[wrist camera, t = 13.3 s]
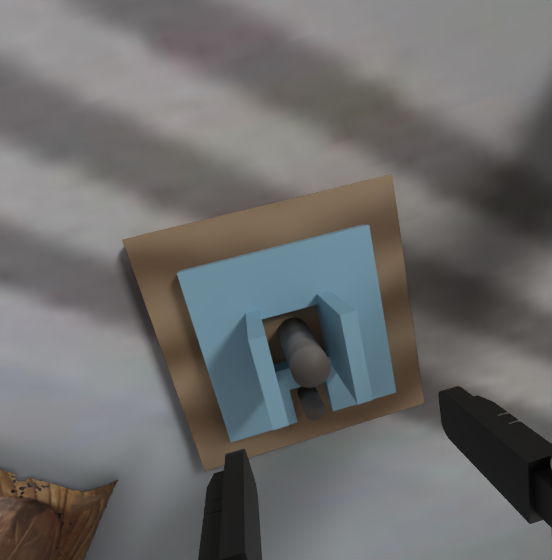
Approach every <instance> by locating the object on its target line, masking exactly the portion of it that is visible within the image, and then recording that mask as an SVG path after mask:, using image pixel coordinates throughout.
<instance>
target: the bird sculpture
mask: <svg viewBox="0 0 552 560" xmlns="http://www.w3.org/2000/svg"><path fill="white" fill-rule="evenodd" d="M11 476H15V475H14V474H13V475H12V473H10V472H8V471H7V472H5V471H4V470H1V469H0V560H84V558H85V556H86V552H87V550H88V548H89V546H90V542H91V540H92V538H93V536H94V534H95V531H96V529H97V526H98V524H99V521H100V519H101V517H102V514H103V512H104V510H105V508H106V506H107V505H106V504H107V502H108V499H109V497H110V496H111V494H112V491H113V489H114V487H115V485H116V483H117V481H118V480H116V481H114V482H113V483H111V484H109V485H106V486H103V487H99V488H96V489H93V490H89V491H85V492H80V491H78V490H75V491H72V490H70V489H69V488H66V487H60V486H57V485H55V484H51V483H47V482H45V481H38V480H36V482H34V481H35V479H32V478H29V477H28V479H26V480H27V481H26V482H25V481H21V482H19V481H17V480H16V483H13V480H14V479H16V478H12V477H11ZM27 482H29V483H30V485H31V486H32V487H27V486H28V485H27V484H26V483H27ZM33 483H36V484H37V485H38V487H39V488H41V491H38V490H37V489H36V488H35V485H33ZM41 485H44V486H46V485H50V487H49V488H47V487H46V488H43V487H41ZM14 486H16V487H14ZM20 487H26V488H24V490H20V489H19V488H20ZM12 489H13V490H14V491H16V490H17V492H15V493H12V492H10V491H11V490H12ZM23 491H24V492H25V493H24V494H23V495H21V494H20V493H21V492H23ZM35 492H37V493H35ZM20 495H21V496H23V497H21V498H20ZM34 500H35V501H34ZM59 512H60V513H61V515H60V516H61V519H60V518H59V515H58V513H59ZM62 522H64V524H63V527H61V526H62ZM70 523H71V524H70ZM69 524H70V525H69ZM61 533H62V534H61ZM57 546H58V547H59V548H57ZM55 550H56V551H55Z"/></svg>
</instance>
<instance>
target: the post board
mask: <svg viewBox="0 0 552 560" xmlns="http://www.w3.org/2000/svg"><path fill="white" fill-rule="evenodd" d="M359 225H369V226H370V233H371V239H372V245H373V251H374V258H375V264H376V270H377V276H378V282H379V289H380V295H381V301H382V307H383V313H384V320H385V326H386V332H387V338H388V344H389V351H390V357H391V363H392V369H393V375H394V382H395V388H396V393H392V394H389V395H386V396H382V397H379V398H376V399H373V400H371V401H368V402H365V403H362V404H356V405H353V406H349V407H346V408H343V409H339V410H336V411H333V410H332V408H331V406H330V404H329V402H328V398H327V393H326V389H325V384H324V382H325V381H326V380H327V378H328V377H329V375H330V371H331V363H330V361H329V359H328V357H327V356H326V354H325V353H324V350H325V345H324V340H323V336H322V331H321V326H320V322H319V317H318V313H317V308H316V305H313V306H310V307H306V308H302V309H299V310H295V311H291V312H287V313H284V314H280V315H276V316H273V317H269V318H265V319H262V322H263V326H264V330H265V334H266V338H267V341H268V345H269V349H270V353H271V357H272V360H273V364H278V363H281V362H285V361H287V363H288V365H289V368H290V371H291V374H292V377H293V379H294V380H295V382H296V383H297V384H299V385H300V386H301V387H298V388H294V389H291V390H290V394H291V398H292V402H293V406H294V410H295V414H296V417H297V421H298V422H297V423H293V424H290V425H289V426H286V427H282V428H279V429H276V430H270V431H267V432H264V433H260V434H257V435H254V436H250V437H247V438H244V439H241V440H237V441H234V442H231V441H230V438H229V435H228V432H227V429H226V425H225V422H224V419H223V416H222V413H221V410H220V407H219V404H218V401H217V397H216V394H215V391H214V388H213V385H212V382H211V379H210V376H209V373H208V369H207V366H206V363H205V360H204V357H203V354H202V351H201V348H200V344H199V341H198V338H197V335H196V332H195V329H194V326H193V323H192V320H191V316H190V313H189V310H188V307H187V304H186V301H185V298H184V295H183V292H182V288H181V285H180V282H179V279H178V276H177V273H178V272H179V271H181V270H185V269H189V268H193V267H197V266H200V265H204V264H208V263H212V262H216V261H220V260H224V259H228V258H232V257H236V256H240V255H244V254H248V253H252V252H256V251H260V250H264V249H268V248H272V247H276V246H280V245H284V244H288V243H292V242H296V241H299V240H303V239H307V238H311V237H315V236H319V235H323V234H327V233H331V232H335V231H339V230H343V229H347V228H351V227H355V226H359ZM123 243H124V246H125V249H126V252H127V254H128V257H129V260H130V263H131V266H132V268H133V271H134V274H135V277H136V280H137V282H138V285H139V288H140V291H141V294H142V296H143V299H144V302H145V305H146V308H147V310H148V313H149V316H150V319H151V322H152V324H153V327H154V330H155V333H156V336H157V338H158V341H159V344H160V347H161V350H162V352H163V355H164V358H165V361H166V363H167V366H168V369H169V372H170V375H171V377H172V380H173V383H174V386H175V389H176V391H177V394H178V397H179V400H180V403H181V405H182V408H183V411H184V414H185V417H186V419H187V422H188V425H189V428H190V431H191V433H192V436H193V439H194V442H195V445H196V447H197V450H198V453H199V456H200V459H201V461H202V464H203V467H204V470H205V471H208V470H211V469H214V468H218V467H221V466H224V464H225V455H226V454H227V453H230V452H234V451H237V450H240V449H245V450H246V453H247V456H248V458H250V457H253V456H256V455H259V454H263V453H266V452H269V451H272V450H276V449H279V448H282V447H285V446H288V445H292V444H295V443H298V442H301V441H304V440H308V439H311V438H314V437H317V436H321V435H324V434H327V433H330V432H333V431H337V430H340V429H343V428H346V427H349V426H353V425H356V424H359V423H362V422H366V421H369V420H372V419H375V418H378V417H382V416H385V415H388V414H391V413H395V412H398V411H401V410H404V409H407V408H411V407H414V406H417V405H420V404H423V403H424V399H423V392H422V384H421V377H420V370H419V363H418V356H417V349H416V342H415V335H414V327H413V320H412V313H411V306H410V299H409V292H408V285H407V278H406V270H405V263H404V256H403V249H402V242H401V235H400V228H399V221H398V213H397V206H396V199H395V192H394V185H393V178H392V174H391V175H387V176H383V177H378V178H374V179H370V180H366V181H362V182H358V183H354V184H350V185H346V186H341V187H337V188H333V189H329V190H325V191H321V192H317V193H313V194H309V195H304V196H300V197H296V198H292V199H288V200H284V201H280V202H276V203H271V204H267V205H263V206H259V207H255V208H251V209H247V210H243V211H239V212H234V213H230V214H226V215H222V216H218V217H214V218H210V219H206V220H201V221H197V222H193V223H189V224H185V225H181V226H177V227H173V228H169V229H164V230H160V231H156V232H152V233H148V234H144V235H140V236H136V237H131V238H127V239H123Z"/></svg>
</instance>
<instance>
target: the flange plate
mask: <svg viewBox="0 0 552 560" xmlns="http://www.w3.org/2000/svg"><path fill="white" fill-rule="evenodd" d="M177 276H178V279H179V282H180V285H181V288H182V292H183V295H184V298H185V301H186V304H187V307H188V310H189V313H190V316H191V320H192V323H193V326H194V329H195V332H196V335H197V338H198V341H199V344H200V348H201V351H202V354H203V357H204V360H205V363H206V366H207V369H208V373H209V376H210V379H211V382H212V385H213V388H214V391H215V394H216V397H217V401H218V404H219V407H220V410H221V413H222V416H223V419H224V422H225V425H226V429H227V432H228V435H229V438H230V441H231V442H234V441H237V440H241V439H244V438H247V437H250V436H254V435H257V434H260V433H264V432H267V431H270V430H276V429H279V428H282V427H286V426H289V425H290V424H293V423H297V422H298V421H297V417H296V414H295V410H294V406H293V402H292V398H291V394H290V390H291V389H294V388H298V387H301V386H300V385H299V384H297V383H296V382H295V380H294V379H293V377H292V374H291V371H290V368H289V365H288V363H287V361H285V362H281V363H278V364H273V360H272V357H271V353H270V349H269V345H268V341H267V338H266V334H265V330H264V326H263V322H262V319H265V318H269V317H273V316H276V315H280V314H284V313H287V312H291V311H295V310H299V309H302V308H306V307H310V306H313V305H316V308H317V313H318V317H319V322H320V326H321V331H322V336H323V340H324V345H325V350H324V353H325V354H326V356H327V357H328V359H329V361H330V363H331V371H330V375H329V377H328V378H327V380H326V381H325V382H324V384H325V389H326V393H327V398H328V402H329V404H330V406H331V408H332V410H333V411H336V410H339V409H343V408H346V407H349V406H353V405H356V404H362V403H365V402H368V401H371V400H373V399H376V398H379V397H382V396H386V395H389V394H392V393H396V388H395V382H394V375H393V369H392V363H391V357H390V351H389V344H388V338H387V332H386V326H385V320H384V313H383V307H382V301H381V295H380V289H379V282H378V276H377V270H376V264H375V258H374V251H373V245H372V239H371V233H370V226H369V225H359V226H355V227H351V228H347V229H343V230H339V231H335V232H331V233H327V234H323V235H319V236H315V237H311V238H307V239H303V240H299V241H296V242H292V243H288V244H284V245H280V246H276V247H272V248H268V249H264V250H260V251H256V252H252V253H248V254H244V255H240V256H236V257H232V258H228V259H224V260H220V261H216V262H212V263H208V264H204V265H200V266H197V267H193V268H189V269H185V270H181V271H179V272H178V273H177Z"/></svg>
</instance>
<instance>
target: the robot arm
mask: <svg viewBox="0 0 552 560" xmlns="http://www.w3.org/2000/svg"><path fill="white" fill-rule="evenodd" d="M439 405H440V413H441V422H442V426H443V429H444V431H445V433H446V435H447V436H448V438H449V439H450V440H451V441H452V443H453V444H454V445H455V446H456V447H457V448H458V449H459V450H460V451H461V452H462V453H463V454H464V455H465V456H466V457H467V458H468V459H469V460H470V461H471V463H472V464H473V465H474V466H475V467H476V468H477V469H478V470H479V471H480V472H481V473H482V474H483V475H484V476H485V477H486V478H487V479H488V480H489V482H490V483H491V484H492V485H493V486H494V487H495V488H496V489H497V490H498V491H499V492H500V493H501V494H502V495H503V496H504V497H505V498H506V499H507V500H508V502H509V503H510V504H511V505H512V506H513V507H514V508H515V509H516V510H517V511H518V512H519V513H520V514H521V515H522V516H523V517H524V518H525V519H526V520H527V522H528V523H529V524H532V523H535V522H538V521H541V520H544V521H545V522H546V523H547V524H548V525H549V526H550V527H551V535H552V444H551V443H550V442H548V441H547V440H545V439H544V438H543V437H541V436H540V435H538V434H537V433H536V432H534V431H533V430H532V429H530V428H529V427H527V426H526V425H525V424H523V423H522V422H519V421H518V419H516V418H515V417H514V416H512V415H511V414H508V413H507V411H505V410H504V409H503V408H501V407H500V406H498V405H497V404H496V403H494V402H492V401H490V400H487V399H485V398H483V397H480V396H474V397H473V396H472V395H471V394H469V393H468V392H467V391H465V390H464V389H463V388H461V387H459V386H457V387H453V388H450V389H446V390H443V391H440V392H439ZM198 560H262V552H261V537H260V522H259V507H258V494H257V488H256V483H255V479H254V476H253V472H252V469H251V466H250V463H249V459H248V456H247V453H246V450H245V449H240V450H237V451H234V452H230V453H227V454H226V455H225V464H224V471H221V472H217V473H214V475H213V477H212V479H211V481H210V483H209V485H208V487H207V492H206V500H205V508H204V518H203V525H202V533H201V542H200V550H199V558H198Z"/></svg>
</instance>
